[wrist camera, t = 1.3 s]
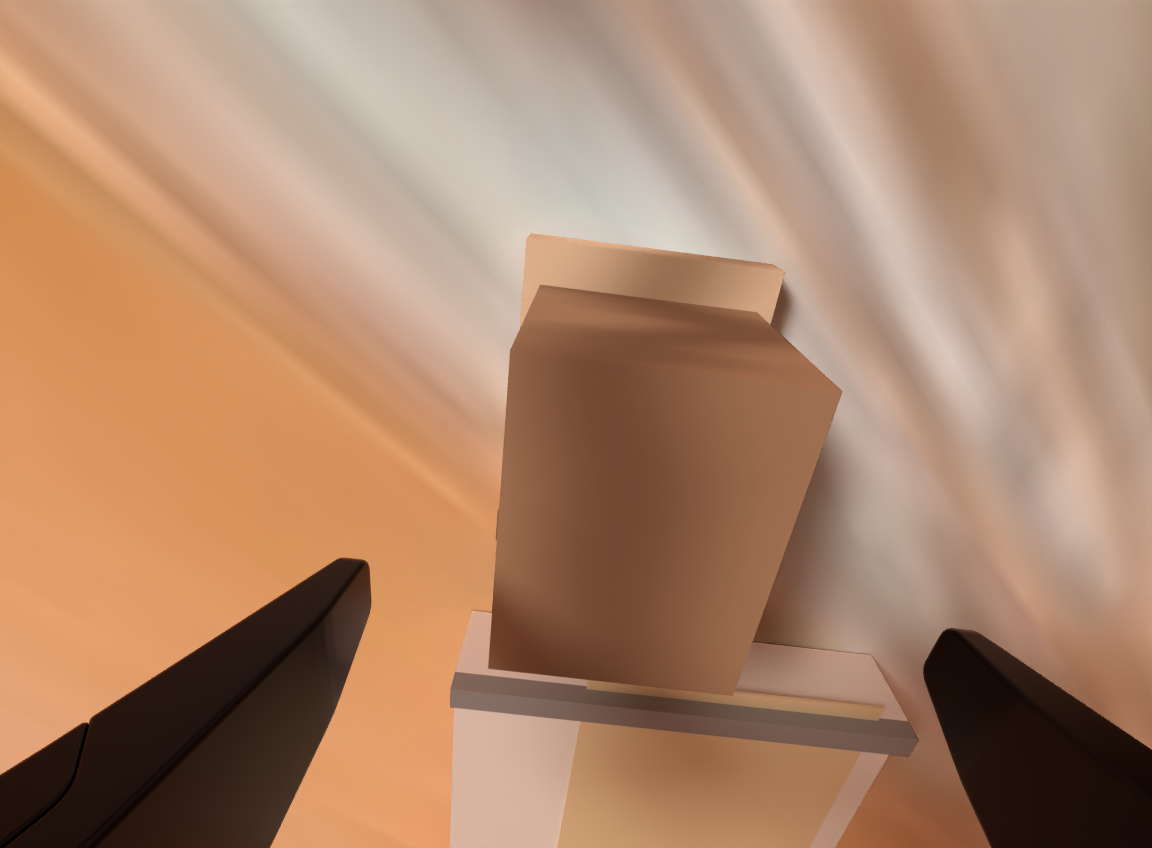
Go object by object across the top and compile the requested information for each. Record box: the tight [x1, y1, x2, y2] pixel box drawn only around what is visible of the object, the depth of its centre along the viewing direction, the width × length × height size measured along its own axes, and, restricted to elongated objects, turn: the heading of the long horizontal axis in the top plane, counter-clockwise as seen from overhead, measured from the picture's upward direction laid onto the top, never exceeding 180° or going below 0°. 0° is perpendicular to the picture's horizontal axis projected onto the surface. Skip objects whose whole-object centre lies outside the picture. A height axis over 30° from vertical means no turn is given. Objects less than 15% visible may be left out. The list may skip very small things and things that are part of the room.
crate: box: [488, 233, 843, 696], centre depth 13 cm, size 6×9×6 cm, turn 173°
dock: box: [450, 611, 919, 848], centre depth 21 cm, size 14×18×3 cm
